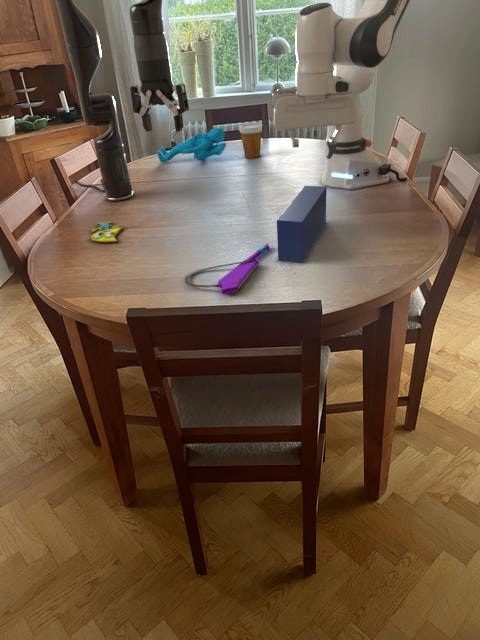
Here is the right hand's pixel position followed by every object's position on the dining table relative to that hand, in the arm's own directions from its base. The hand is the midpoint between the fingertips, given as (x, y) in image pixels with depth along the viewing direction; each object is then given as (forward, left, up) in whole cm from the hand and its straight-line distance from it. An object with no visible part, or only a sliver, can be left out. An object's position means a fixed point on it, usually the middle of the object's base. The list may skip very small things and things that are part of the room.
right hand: (314, 145), depth 121 cm
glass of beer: (+3, -83, -22) cm, 86 cm away
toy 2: (+28, -87, -22) cm, 94 cm away
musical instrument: (+27, +20, -22) cm, 40 cm away
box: (+5, +8, -22) cm, 24 cm away
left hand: (+37, -5, +6) cm, 38 cm away
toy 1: (+59, -15, -22) cm, 64 cm away
